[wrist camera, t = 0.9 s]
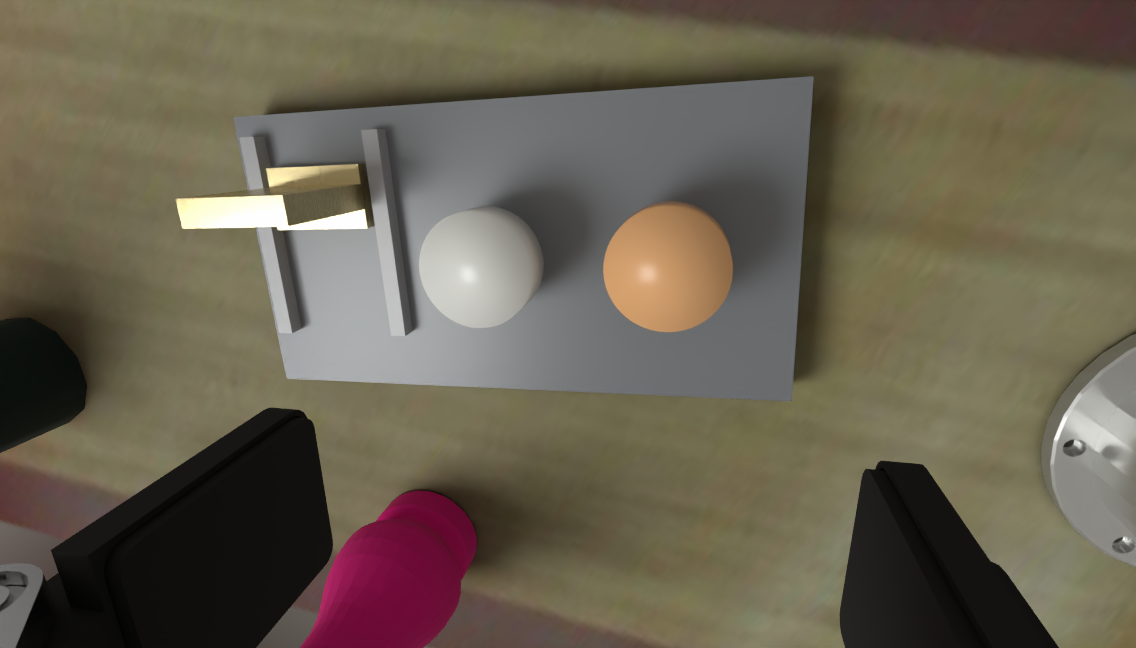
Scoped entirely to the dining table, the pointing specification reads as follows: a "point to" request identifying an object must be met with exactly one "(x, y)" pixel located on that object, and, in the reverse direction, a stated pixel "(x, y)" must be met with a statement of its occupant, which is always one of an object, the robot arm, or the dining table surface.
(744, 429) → the dining table surface
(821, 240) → the dining table surface
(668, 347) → the control panel
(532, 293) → the white knob
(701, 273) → the orange button
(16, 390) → the wine bottle
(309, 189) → the brass paddle
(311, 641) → the pepper mill
